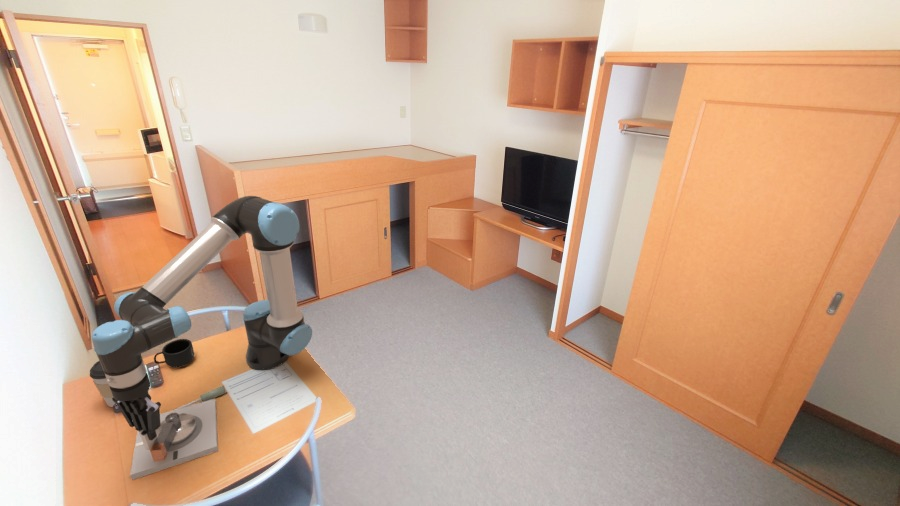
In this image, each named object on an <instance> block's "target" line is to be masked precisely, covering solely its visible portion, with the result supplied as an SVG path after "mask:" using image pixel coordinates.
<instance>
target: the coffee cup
mask: <svg viewBox="0 0 900 506" xmlns="http://www.w3.org/2000/svg"><path fill="white" fill-rule="evenodd" d="M89 377H90V378H91V379H92V381H93V383H94V385H95V387H96V389H97V390H98V392H99V393H100V396H102V398H103V399H104V401H105V403H106V405H107V406H108V407H110V408H111V407H112V408H114V407H113V405H114V404H115V402H114V401H113V400H112V398H113V395H112V392H111V390H110V386H109V384H108V383H107V382H106V381H107V378H106V376H105V373H104V371H103V368H102V366H101V363H100V361H99V360H98V361H97V362H95V363H94V364H93V366H91V368H90V370H89Z"/></svg>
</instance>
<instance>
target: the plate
mask: <svg viewBox="0 0 900 506" xmlns="http://www.w3.org/2000/svg"><path fill="white" fill-rule="evenodd" d="M171 413H178V414H183V413H186V414H190V415H192V416H193V417H194V418H195V422H196V430H195V432H194V433H193V434H192V435H191V436H190V437H189V438H188V439H187V440H185V441H184V442H182V443H180V444H177V445H174V446H170V449H169V451H168V453H167V456H166V458H165V460H162V461H155V462H154V461H153V458H152V455H151V453H150V450H147V449H145V446H144V444H143V441H142V438H141V436H140V433H139V431H137V430H136V431H137V432H136V438H135V443H134V448H133V449H134V450H133V455H132V463H131V467H130V476H129V477H130V478H131V481H134V480H136V479H140V478H143V477H145V476H148V475H151V474H154V473H158V472H161V471H163V470H166V469H169V468H172V467H175V466H178V465H180V464H184V463H186V462H189V461H192V460H195V459H198V458H201V457H204V456H207V455H210V454H213V453H216V452H218V451H219V446H218V445H219V444H218V443H219V442H218V418H217V415H218V414H217V401H216V398H212V399H210V400H208V401H205V402H202V401H201V402H197V403H194V404H192V405H190V406H187V407H184V408H180V409H177V410H174V409H172V410H170V411H167V412H162V413H160V423H161V422H163V421H164V420H165V418H166V416H167V415H169V414H171Z"/></svg>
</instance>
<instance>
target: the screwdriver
mask: <svg viewBox="0 0 900 506" xmlns="http://www.w3.org/2000/svg"><path fill="white" fill-rule="evenodd" d="M226 393H227V390H226V387H225V385H223V384H222V385H221V386H218V387H216V388H214V389H211V390H209V391H206V392H204V393H202V394H200V398H198V399H194V400H193V401H190V402H189V403H185V404H183V405H181V406H179V407H177V408H175V409H173V410H177V409H180V408H184V407H187V406H191V405H194V404H197V403H200V401H201V402H205V401H208V400H212V399H216V397H219V396H222V395H223V394H226Z"/></svg>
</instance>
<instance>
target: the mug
mask: <svg viewBox="0 0 900 506" xmlns="http://www.w3.org/2000/svg"><path fill="white" fill-rule="evenodd" d="M161 354H162V355H163V359H164V360H162V361H157V357H158V356H159V355H161ZM194 358H195V350H194V346H193V343H192V341H191V340H190V339H186V338H180V339H174V340H173V341H169V342H168V343H166V344H165V345H164V346H163V347H162V350H161V351H159V352H157V353H155V354H154V357H153V361H154V363H155V364H157V365H159V364H160V365H161V364H166V365H167V366H168V367H170V368H177V369H178V368H182V367H185V366H187V365H189V364H190V363H192V361H193V360H194Z"/></svg>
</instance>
